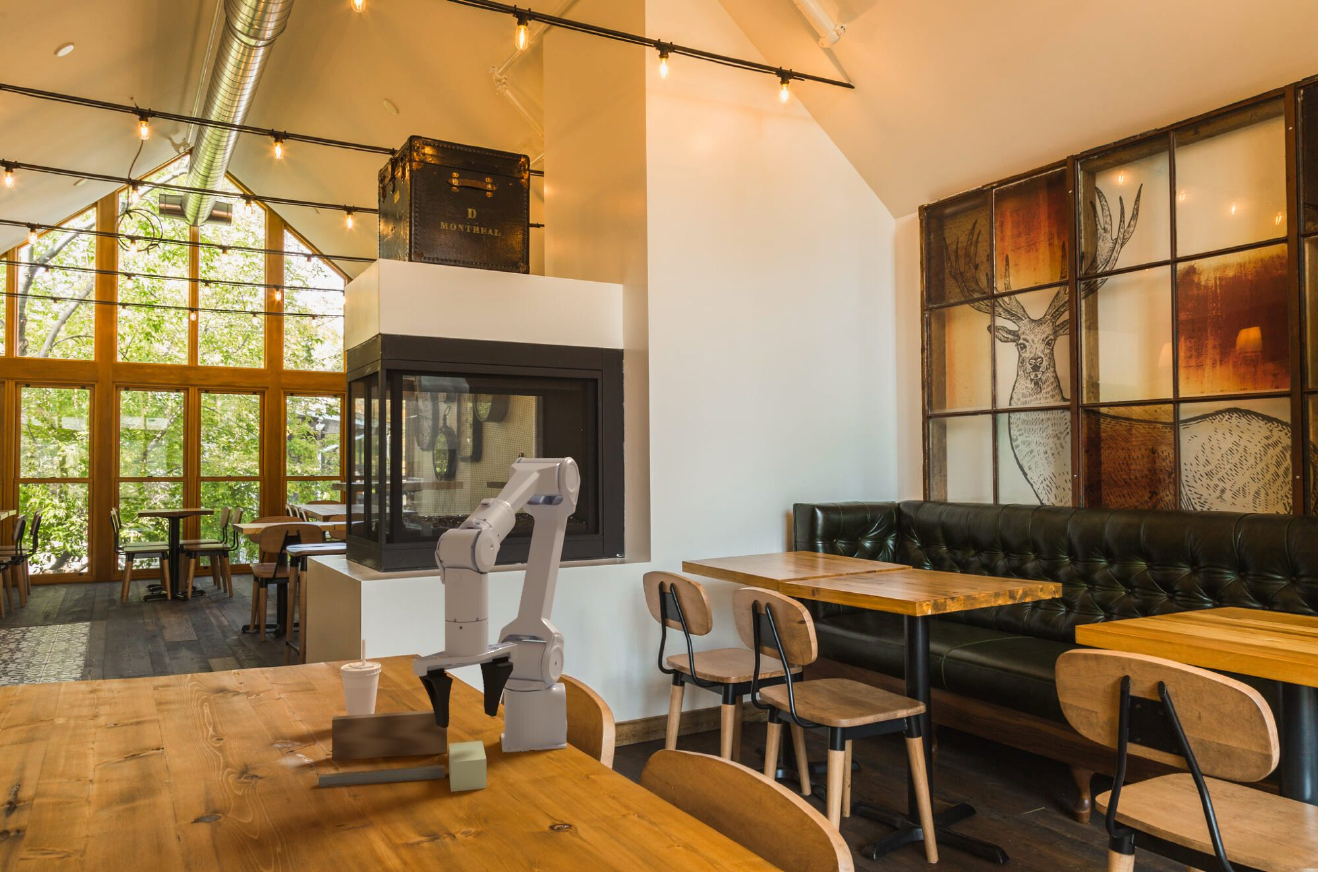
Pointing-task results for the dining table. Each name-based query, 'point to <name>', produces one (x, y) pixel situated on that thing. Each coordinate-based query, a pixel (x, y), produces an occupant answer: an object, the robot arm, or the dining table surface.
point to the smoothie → (360, 685)
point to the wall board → (387, 735)
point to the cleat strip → (382, 776)
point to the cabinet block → (467, 766)
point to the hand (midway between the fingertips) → (467, 720)
